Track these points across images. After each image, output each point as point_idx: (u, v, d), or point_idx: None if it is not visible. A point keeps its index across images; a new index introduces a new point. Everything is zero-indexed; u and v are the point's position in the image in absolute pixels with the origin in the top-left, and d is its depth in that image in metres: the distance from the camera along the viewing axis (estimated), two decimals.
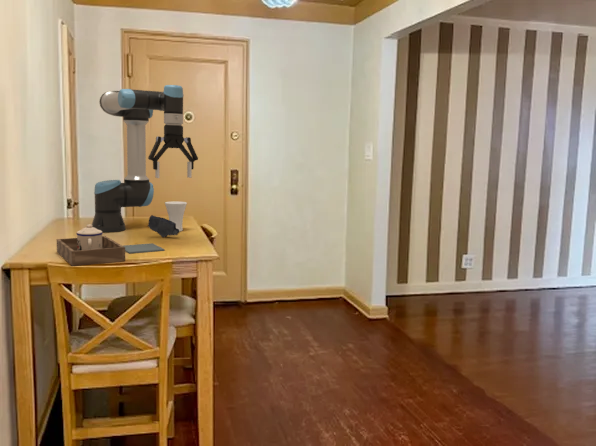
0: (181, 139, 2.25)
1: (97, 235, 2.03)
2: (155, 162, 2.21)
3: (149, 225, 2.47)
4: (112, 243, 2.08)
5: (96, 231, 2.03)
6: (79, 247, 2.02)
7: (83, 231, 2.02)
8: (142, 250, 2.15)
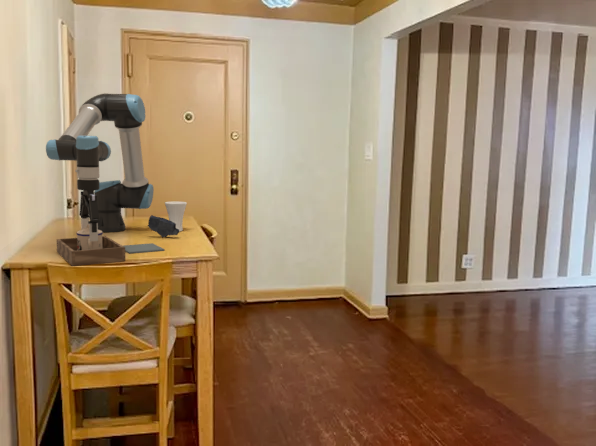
0: (87, 195, 1.99)
1: None
2: None
3: (149, 225, 2.47)
4: (112, 243, 2.08)
5: None
6: (79, 247, 2.02)
7: (83, 231, 2.02)
8: (142, 250, 2.15)
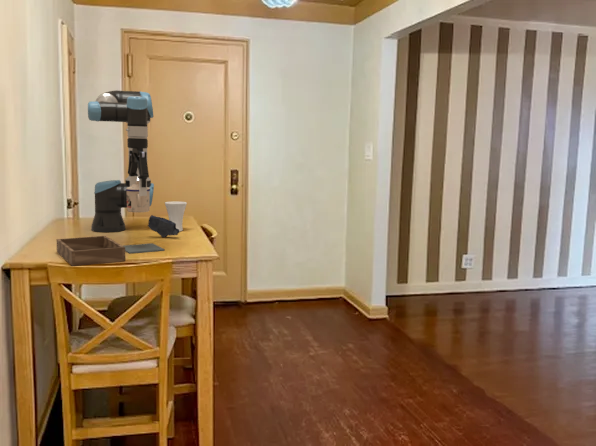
0: (137, 153, 2.12)
1: None
2: None
3: (149, 225, 2.47)
4: (112, 243, 2.08)
5: None
6: (129, 202, 2.16)
7: (132, 187, 2.15)
8: (142, 250, 2.15)
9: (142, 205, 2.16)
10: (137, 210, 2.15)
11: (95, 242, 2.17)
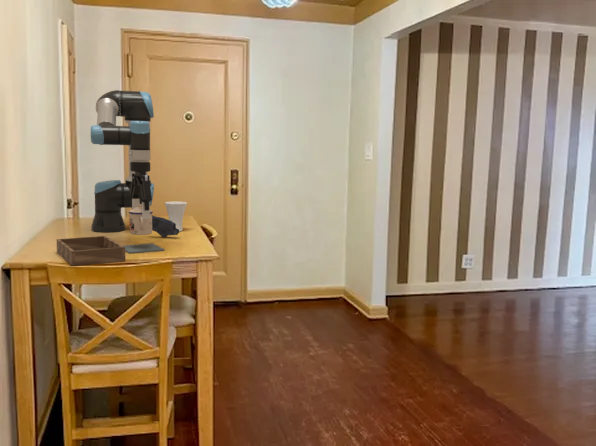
0: (140, 176, 2.14)
1: None
2: None
3: None
4: (112, 243, 2.08)
5: None
6: (132, 225, 2.18)
7: (135, 210, 2.17)
8: (142, 250, 2.15)
9: (145, 228, 2.18)
10: (140, 233, 2.17)
11: (95, 242, 2.17)
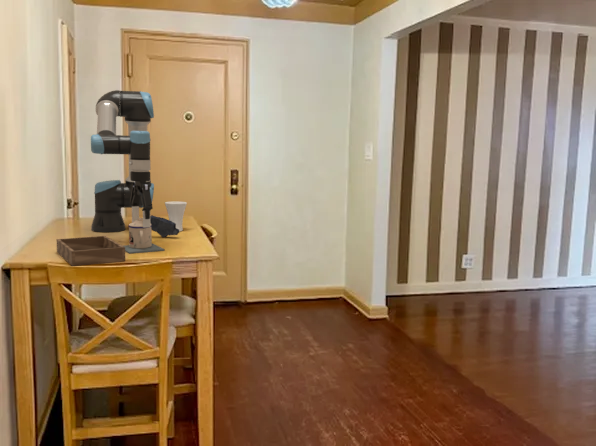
0: (140, 186, 2.15)
1: (147, 227, 2.19)
2: None
3: None
4: (112, 243, 2.08)
5: None
6: (131, 238, 2.19)
7: (135, 224, 2.18)
8: (142, 250, 2.15)
9: (144, 242, 2.19)
10: (140, 246, 2.18)
11: (95, 242, 2.17)
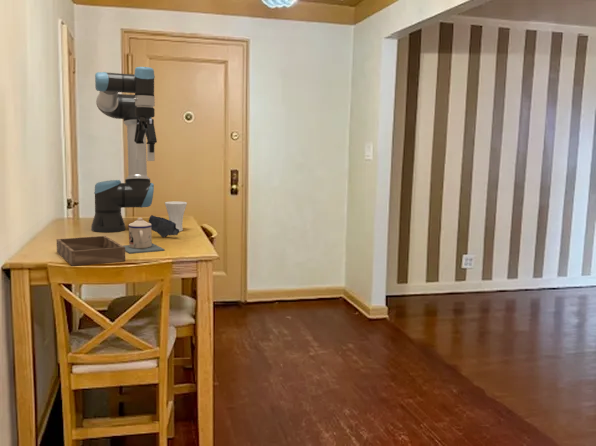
0: (144, 121, 2.21)
1: (147, 227, 2.19)
2: (137, 144, 2.31)
3: None
4: (112, 243, 2.08)
5: (146, 224, 2.20)
6: (131, 238, 2.19)
7: (135, 224, 2.18)
8: (142, 250, 2.15)
9: (144, 241, 2.19)
10: (139, 246, 2.18)
11: (95, 242, 2.17)
